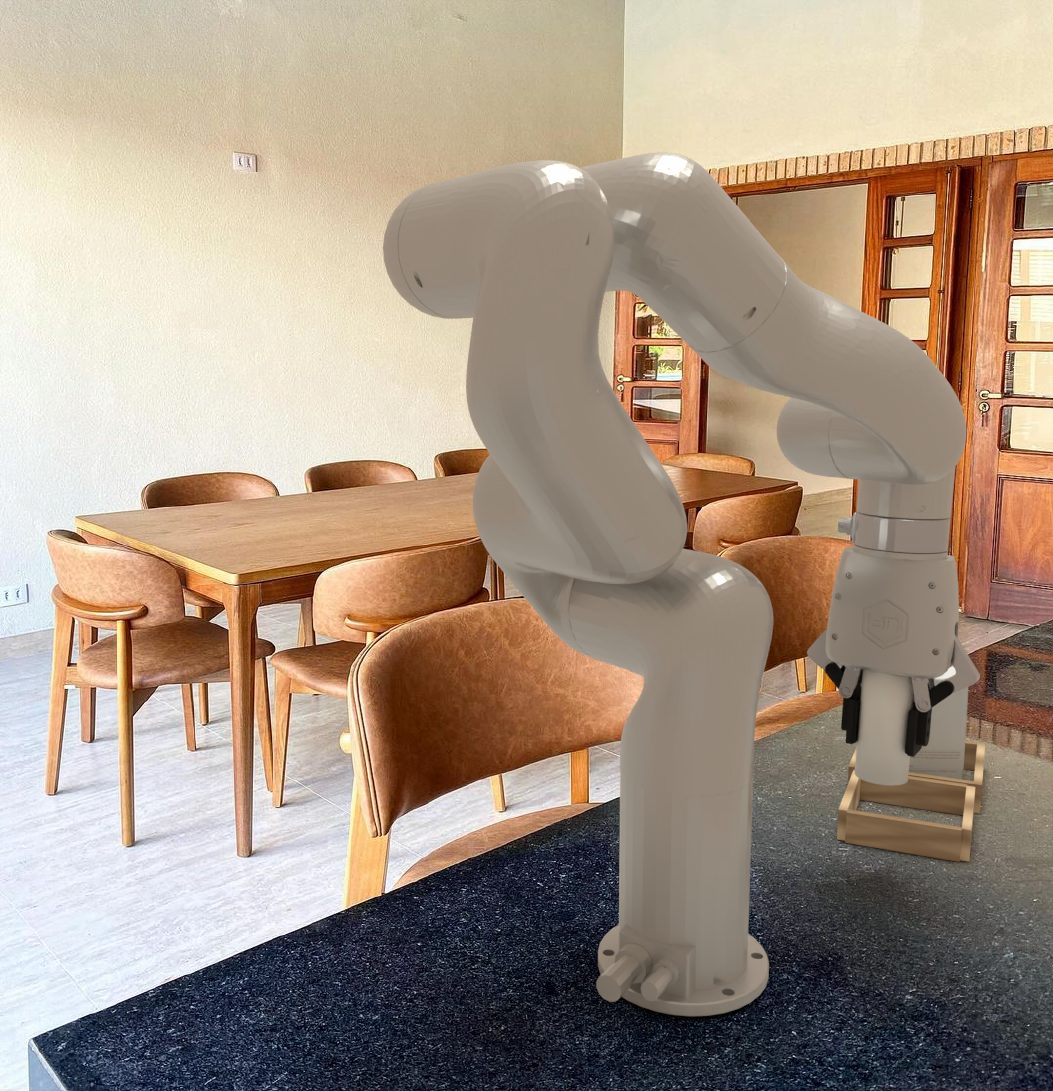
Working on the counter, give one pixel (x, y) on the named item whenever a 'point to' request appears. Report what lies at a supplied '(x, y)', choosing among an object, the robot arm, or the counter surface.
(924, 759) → the supplement box
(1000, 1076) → the counter surface
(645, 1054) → the counter surface
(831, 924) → the counter surface
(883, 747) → the frosted tube
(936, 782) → the oak rack
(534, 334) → the robot arm
